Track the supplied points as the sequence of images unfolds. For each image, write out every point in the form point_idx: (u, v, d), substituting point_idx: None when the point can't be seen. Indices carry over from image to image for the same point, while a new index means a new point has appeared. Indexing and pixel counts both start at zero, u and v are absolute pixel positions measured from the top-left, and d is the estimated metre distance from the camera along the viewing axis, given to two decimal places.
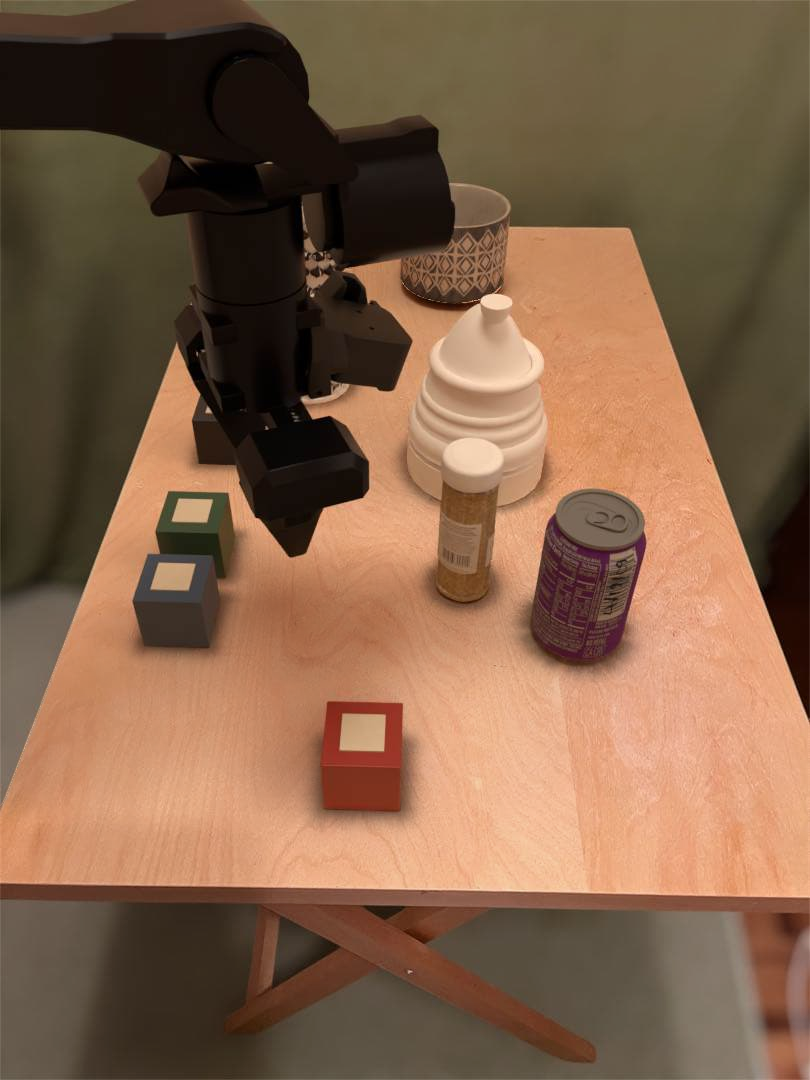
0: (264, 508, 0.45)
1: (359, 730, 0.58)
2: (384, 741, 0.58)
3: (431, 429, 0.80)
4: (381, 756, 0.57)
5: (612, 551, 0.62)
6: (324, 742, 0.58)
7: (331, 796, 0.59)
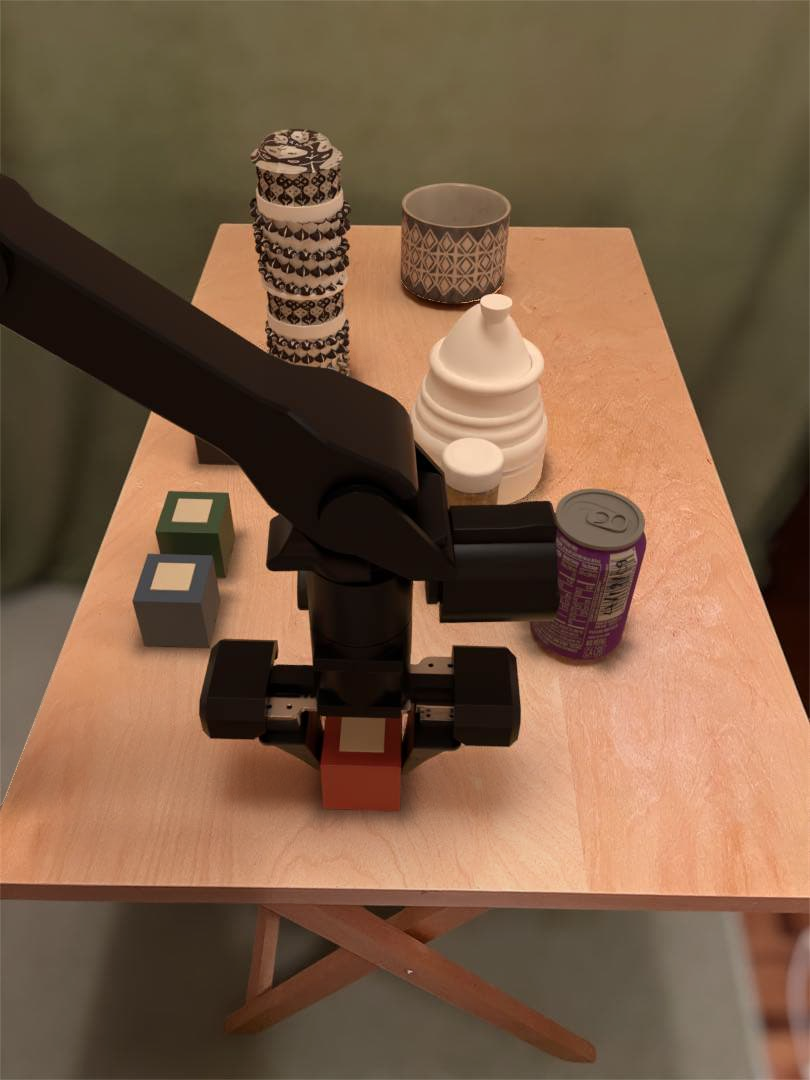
0: (516, 733, 0.53)
1: (359, 730, 0.58)
2: (384, 741, 0.58)
3: (431, 429, 0.80)
4: (381, 756, 0.57)
5: (612, 551, 0.62)
6: (324, 742, 0.58)
7: (331, 796, 0.59)
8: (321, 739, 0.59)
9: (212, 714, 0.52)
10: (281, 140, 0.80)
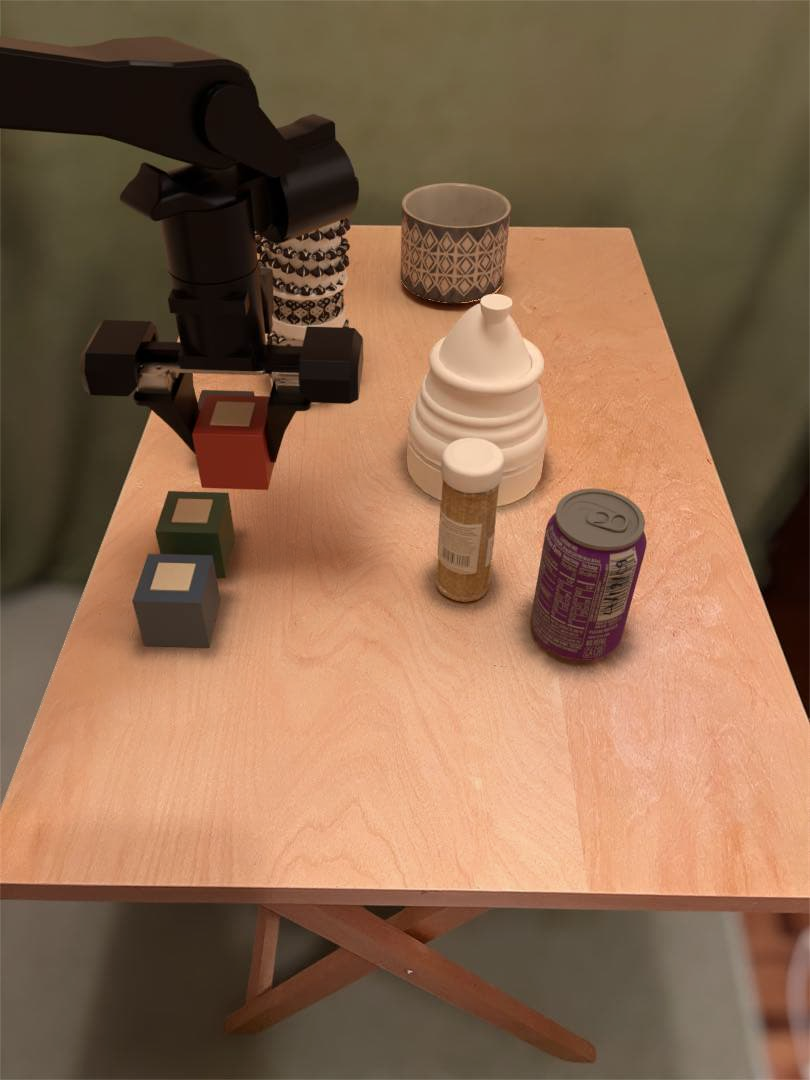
0: (355, 390, 0.61)
1: (230, 412, 0.66)
2: (250, 419, 0.66)
3: (431, 429, 0.80)
4: (246, 428, 0.65)
5: (612, 551, 0.62)
6: (198, 419, 0.66)
7: (206, 472, 0.67)
8: None
9: (89, 367, 0.60)
10: None
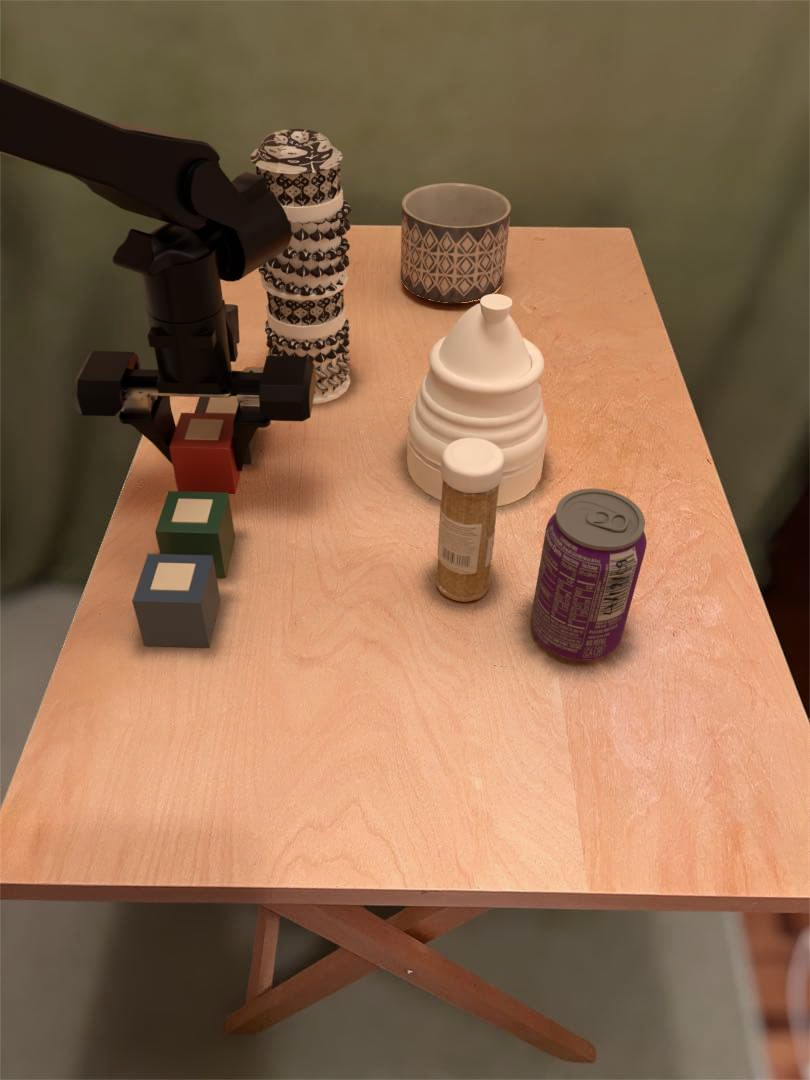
0: (307, 410, 0.72)
1: (202, 428, 0.77)
2: (219, 433, 0.77)
3: (431, 429, 0.80)
4: (216, 442, 0.76)
5: (612, 551, 0.62)
6: (174, 434, 0.77)
7: (181, 479, 0.78)
8: None
9: (81, 391, 0.71)
10: (281, 140, 0.80)
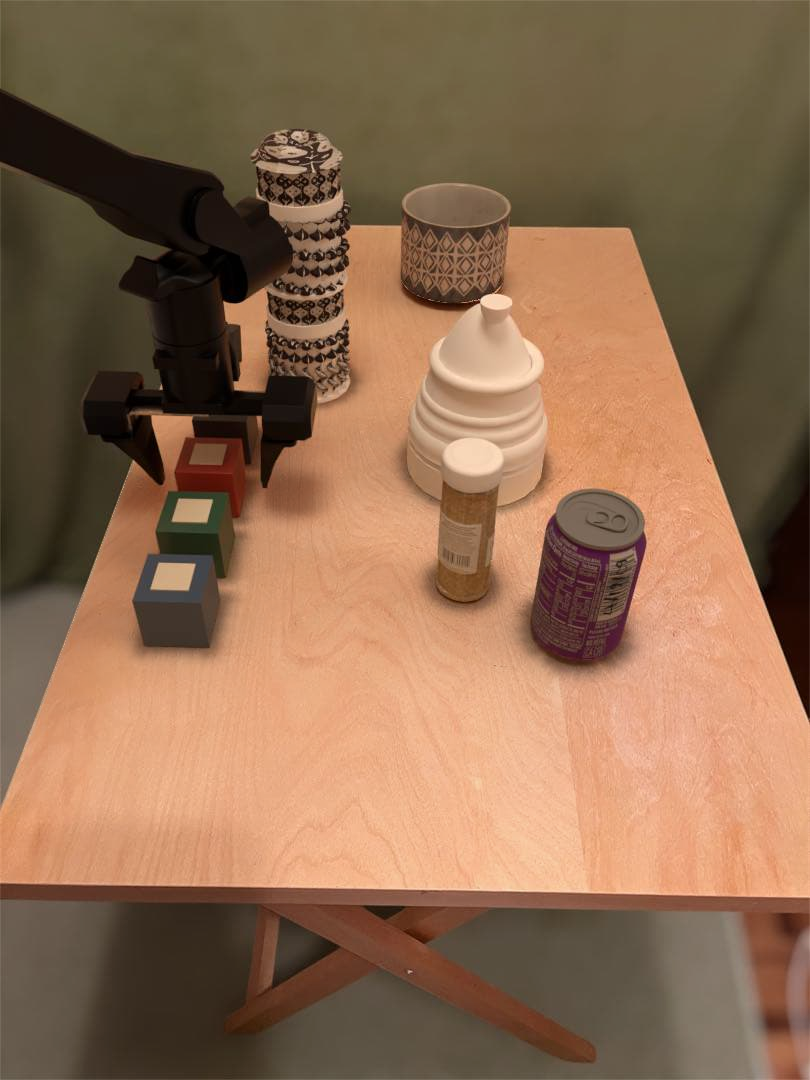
0: (309, 429, 0.74)
1: (206, 453, 0.79)
2: (223, 458, 0.78)
3: (431, 429, 0.80)
4: (219, 467, 0.78)
5: (612, 551, 0.62)
6: (179, 459, 0.78)
7: None
8: (156, 454, 0.79)
9: (87, 412, 0.73)
10: (281, 140, 0.80)
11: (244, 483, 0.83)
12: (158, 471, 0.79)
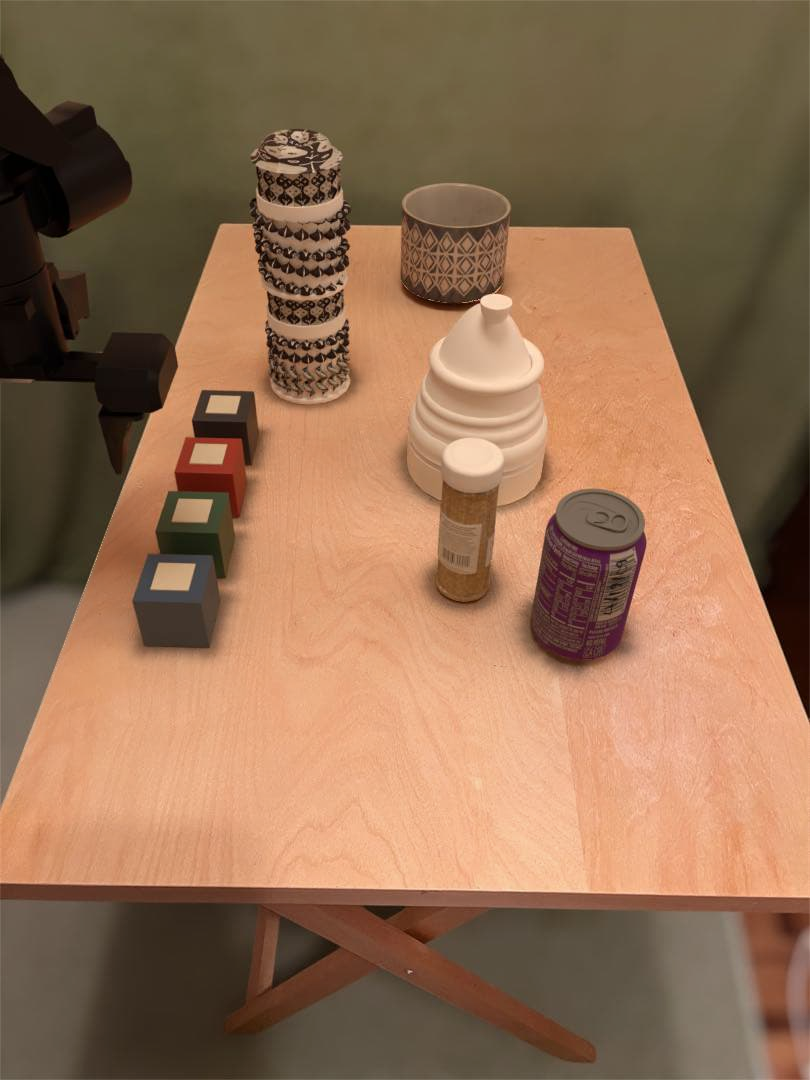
0: (157, 398, 0.58)
1: (206, 453, 0.79)
2: (223, 458, 0.78)
3: (431, 429, 0.80)
4: (219, 467, 0.78)
5: (612, 551, 0.62)
6: (179, 459, 0.78)
7: None
8: None
9: None
10: (281, 140, 0.80)
11: (244, 483, 0.83)
12: None
